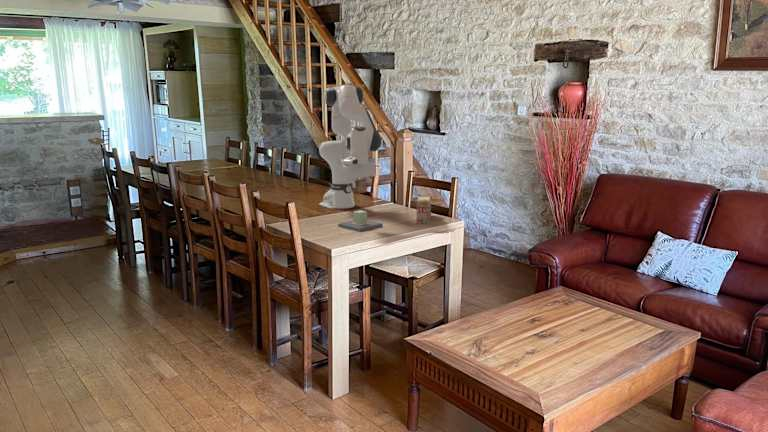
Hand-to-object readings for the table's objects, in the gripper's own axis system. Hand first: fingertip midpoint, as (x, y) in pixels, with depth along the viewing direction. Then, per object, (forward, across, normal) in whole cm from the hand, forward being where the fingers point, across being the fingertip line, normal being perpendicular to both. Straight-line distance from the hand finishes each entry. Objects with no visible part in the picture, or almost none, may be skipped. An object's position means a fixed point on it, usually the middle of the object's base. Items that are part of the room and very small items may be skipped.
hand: (359, 186), depth 309 cm
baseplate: (+20, 0, 0) cm, 21 cm away
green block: (+19, 0, 0) cm, 19 cm away
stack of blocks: (+21, -35, +12) cm, 42 cm away
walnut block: (+3, 0, 0) cm, 3 cm away
